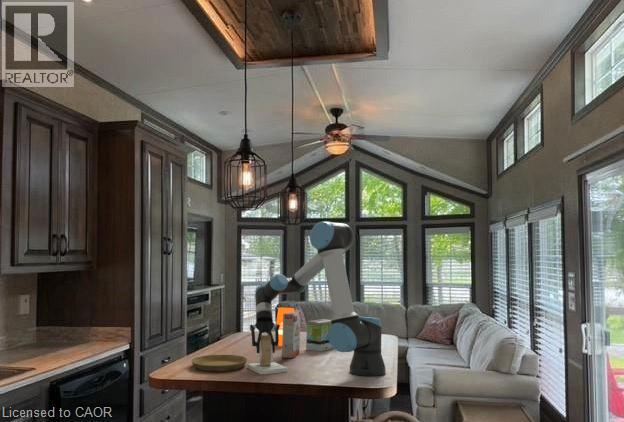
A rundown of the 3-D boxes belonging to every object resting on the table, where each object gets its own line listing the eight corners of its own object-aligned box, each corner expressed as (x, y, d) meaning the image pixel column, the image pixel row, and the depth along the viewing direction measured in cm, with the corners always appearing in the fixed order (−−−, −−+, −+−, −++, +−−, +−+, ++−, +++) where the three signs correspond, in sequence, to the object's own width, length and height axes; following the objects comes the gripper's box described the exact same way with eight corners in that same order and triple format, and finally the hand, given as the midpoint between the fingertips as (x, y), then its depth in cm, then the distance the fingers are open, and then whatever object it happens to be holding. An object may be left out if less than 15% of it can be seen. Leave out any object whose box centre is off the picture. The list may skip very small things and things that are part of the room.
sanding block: (260, 363, 213) (260, 335, 214) (269, 363, 214) (269, 335, 215) (261, 366, 207) (261, 337, 209) (270, 366, 208) (271, 337, 209)
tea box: (321, 352, 250) (321, 322, 251) (305, 349, 256) (306, 320, 257) (337, 347, 262) (338, 319, 263) (322, 345, 268) (322, 318, 269)
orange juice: (291, 346, 265) (292, 308, 266) (275, 345, 266) (276, 308, 268) (294, 343, 272) (295, 307, 274) (279, 343, 274) (279, 306, 275)
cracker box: (293, 358, 232) (294, 314, 234) (281, 358, 233) (282, 313, 235) (300, 353, 246) (300, 311, 248) (288, 352, 247) (289, 310, 249)
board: (287, 371, 206) (287, 367, 206) (260, 374, 200) (261, 370, 200) (272, 365, 218) (272, 361, 218) (247, 367, 212) (247, 363, 212)
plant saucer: (211, 359, 230) (212, 352, 230) (257, 364, 221) (257, 356, 221) (179, 370, 208) (179, 362, 208) (228, 376, 199) (228, 367, 199)
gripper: (281, 319, 229) (285, 363, 211) (245, 320, 226) (245, 364, 208) (283, 309, 224) (287, 353, 206) (245, 309, 221) (246, 354, 203)
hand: (266, 358), depth 207 cm, fingers closed on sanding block, 4 cm apart
